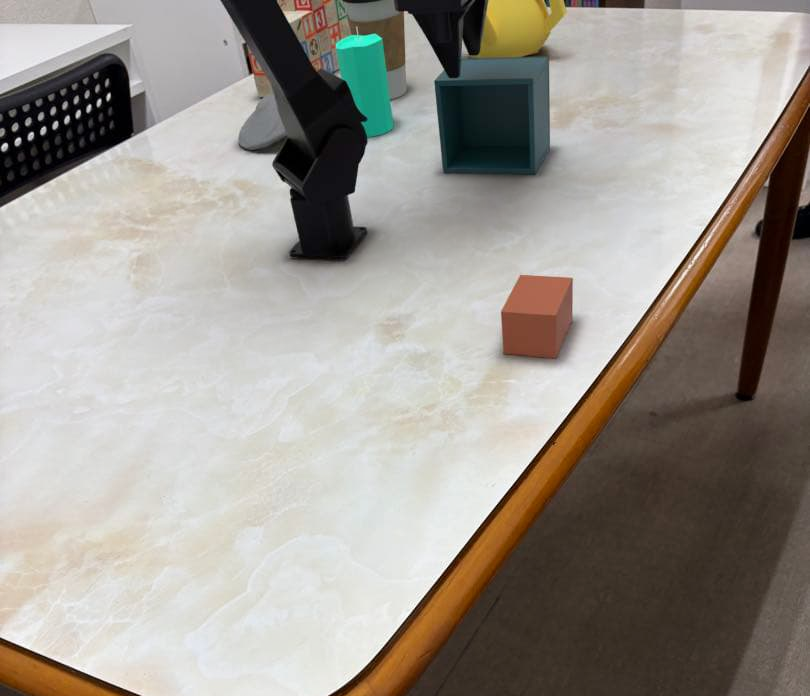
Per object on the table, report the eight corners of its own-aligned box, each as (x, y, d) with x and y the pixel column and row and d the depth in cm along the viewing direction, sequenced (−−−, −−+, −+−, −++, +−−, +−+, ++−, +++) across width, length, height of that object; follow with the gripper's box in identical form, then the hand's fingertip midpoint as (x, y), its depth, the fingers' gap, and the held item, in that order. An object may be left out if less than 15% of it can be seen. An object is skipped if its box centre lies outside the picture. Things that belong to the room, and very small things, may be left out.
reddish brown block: (556, 358, 70) (556, 315, 67) (503, 354, 72) (500, 311, 69) (572, 319, 74) (572, 277, 71) (521, 316, 75) (520, 274, 73)
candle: (389, 135, 110) (374, 32, 102) (344, 138, 112) (327, 36, 103) (398, 118, 115) (385, 17, 106) (355, 121, 116) (339, 21, 108)
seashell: (321, 117, 119) (251, 111, 120) (316, 76, 114) (244, 71, 115) (299, 165, 112) (226, 158, 114) (294, 123, 108) (218, 117, 109)
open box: (535, 174, 96) (533, 78, 89) (443, 172, 100) (433, 80, 93) (550, 149, 101) (549, 56, 94) (461, 148, 104) (453, 58, 97)
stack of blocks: (291, 100, 126) (271, 5, 117) (257, 98, 128) (235, 5, 120) (366, 52, 138) (353, -38, 129) (334, 51, 141) (319, -37, 132)
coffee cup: (424, 93, 120) (411, -32, 110) (368, 108, 119) (350, -17, 108) (402, 79, 126) (388, -41, 116) (349, 93, 125) (329, -27, 114)
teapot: (478, 36, 136) (473, -47, 128) (587, 36, 129) (588, -52, 121) (424, 80, 124) (414, -8, 117) (540, 82, 117) (539, -12, 109)
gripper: (511, -117, 66) (518, 99, 77) (565, -159, 78) (565, 33, 89) (378, -103, 70) (403, 100, 81) (449, -145, 82) (463, 37, 92)
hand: (464, 66), depth 85 cm, fingers open, 6 cm apart
